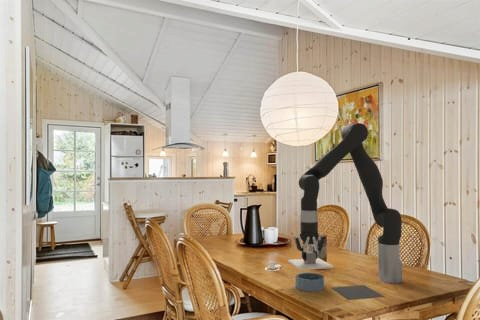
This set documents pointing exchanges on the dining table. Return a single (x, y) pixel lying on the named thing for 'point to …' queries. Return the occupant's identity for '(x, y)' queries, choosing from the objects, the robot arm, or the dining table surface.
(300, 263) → the lid
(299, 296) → the dining table surface
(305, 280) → the bowl
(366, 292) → the mat
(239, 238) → the dining table surface
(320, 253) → the coffee box
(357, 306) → the dining table surface
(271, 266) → the teacup and saucer
